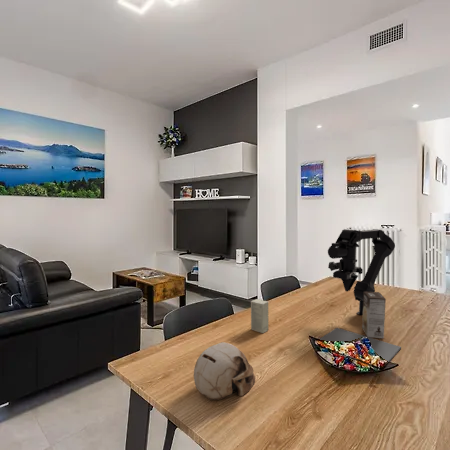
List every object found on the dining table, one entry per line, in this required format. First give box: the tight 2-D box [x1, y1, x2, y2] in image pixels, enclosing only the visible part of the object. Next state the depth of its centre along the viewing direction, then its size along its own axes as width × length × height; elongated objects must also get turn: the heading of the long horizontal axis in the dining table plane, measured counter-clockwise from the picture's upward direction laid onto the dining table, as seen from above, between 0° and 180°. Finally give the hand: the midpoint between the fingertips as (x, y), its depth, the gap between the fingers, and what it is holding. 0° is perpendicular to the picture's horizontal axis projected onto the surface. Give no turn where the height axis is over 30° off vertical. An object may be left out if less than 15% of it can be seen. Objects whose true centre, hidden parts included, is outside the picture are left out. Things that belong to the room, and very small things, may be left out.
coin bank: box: [193, 341, 256, 401], centre depth 83 cm, size 16×17×13 cm
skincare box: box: [250, 298, 269, 334], centre depth 123 cm, size 6×4×12 cm
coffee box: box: [361, 291, 387, 339], centre depth 121 cm, size 9×6×16 cm
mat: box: [319, 327, 402, 363], centre depth 110 cm, size 20×24×1 cm
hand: (347, 290), depth 136 cm, fingers closed
